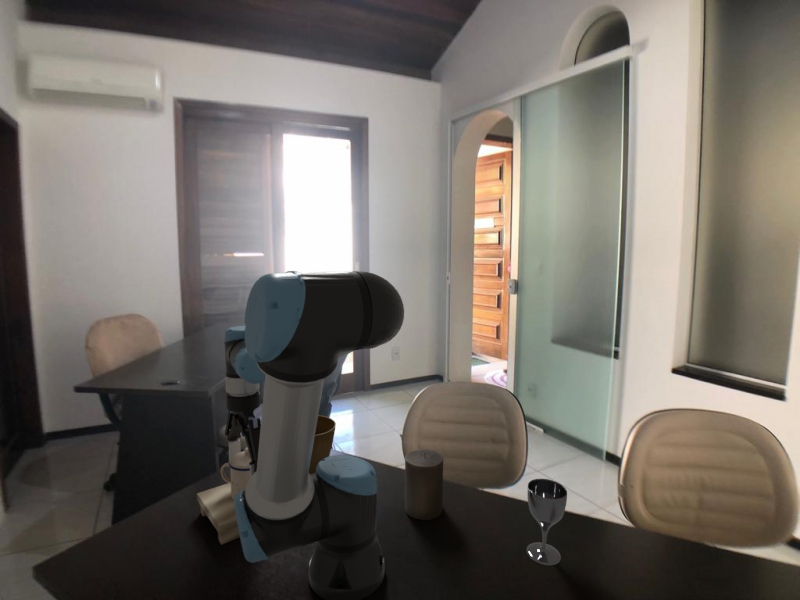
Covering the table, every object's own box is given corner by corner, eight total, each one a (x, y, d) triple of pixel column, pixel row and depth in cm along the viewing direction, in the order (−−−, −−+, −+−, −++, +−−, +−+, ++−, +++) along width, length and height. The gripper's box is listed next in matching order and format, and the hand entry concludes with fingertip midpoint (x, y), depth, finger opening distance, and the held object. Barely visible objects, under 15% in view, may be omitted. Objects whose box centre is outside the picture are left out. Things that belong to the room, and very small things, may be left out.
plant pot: (299, 499, 112) (298, 440, 110) (272, 476, 123) (271, 423, 121) (346, 479, 122) (346, 425, 120) (317, 460, 133) (317, 410, 131)
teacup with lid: (275, 485, 109) (274, 441, 108) (258, 506, 100) (257, 458, 99) (231, 480, 111) (230, 437, 110) (211, 501, 102) (209, 454, 101)
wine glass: (537, 570, 88) (541, 501, 87) (517, 544, 96) (520, 481, 94) (571, 563, 90) (575, 496, 89) (548, 538, 98) (552, 476, 96)
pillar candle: (449, 515, 106) (451, 457, 105) (414, 524, 102) (415, 464, 101) (430, 495, 115) (432, 441, 114) (397, 503, 111) (398, 447, 109)
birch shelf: (295, 514, 105) (295, 495, 105) (219, 547, 94) (219, 525, 93) (267, 487, 117) (267, 469, 117) (197, 512, 106) (196, 493, 105)
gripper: (281, 402, 95) (283, 493, 97) (239, 376, 114) (241, 452, 116) (248, 410, 90) (250, 505, 93) (209, 381, 109) (212, 461, 111)
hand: (245, 476), depth 104 cm, fingers open, 13 cm apart
